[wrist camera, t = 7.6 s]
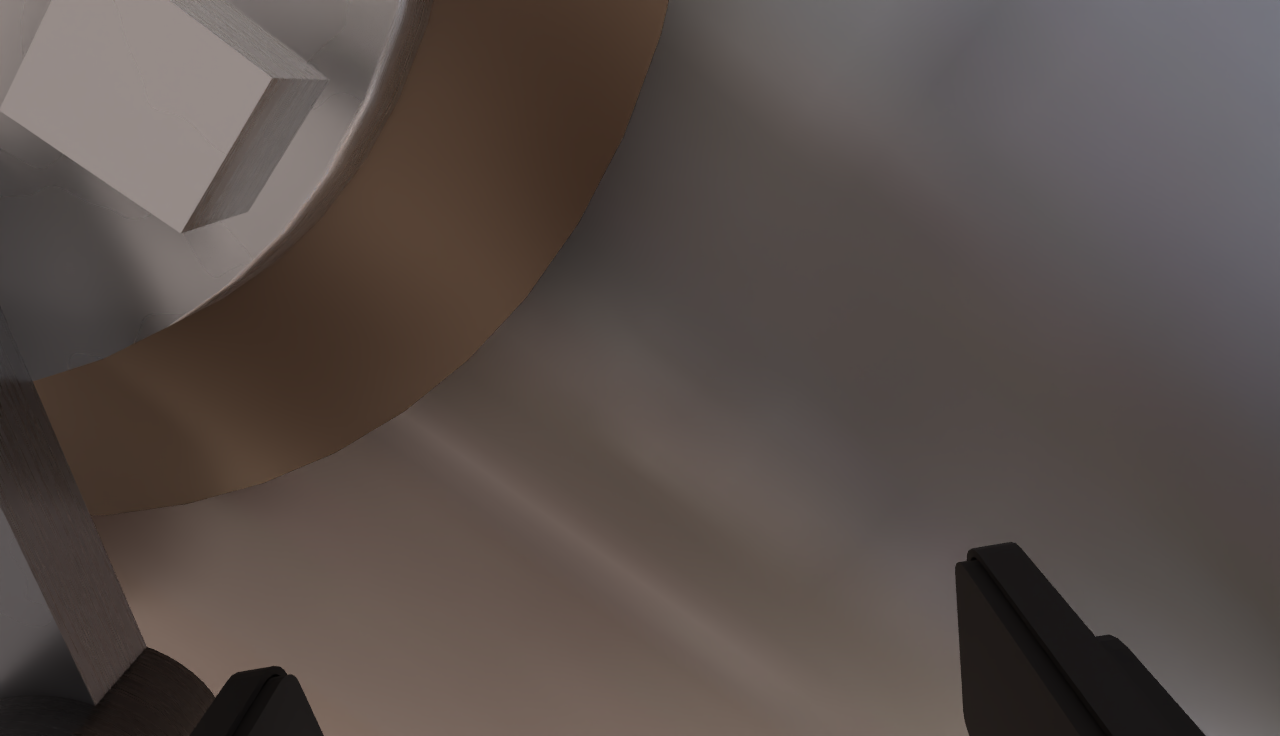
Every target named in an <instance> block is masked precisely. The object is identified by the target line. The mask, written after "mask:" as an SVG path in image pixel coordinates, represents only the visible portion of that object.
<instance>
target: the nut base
mask: <svg viewBox="0 0 1280 736" xmlns="http://www.w3.org/2000/svg"><path fill="white" fill-rule="evenodd" d="M668 2H669V0H433V3H432V7H431V11H430V16H429V20H428V24H427V27H426V30H425V32H424V35H423V38H422V40H421V43H420V45H419V48H418V51H417V53H416V56H415V58H414V61H413V64H412V66H411V69H410V71H409V74H408V77H407V79H406V82H405V84H404V87H403V90H402V92H401V95H400V97H399V100H398V101H397V103H396V105H395V107H394V109H393V111H392V112H391V114H390V116H389V118H388V120H387V121H386V123H385V125H384V127H383V129H382V130H381V132H380V134H379V136H378V138H377V139H376V141H375V143H374V145H373V147H372V148H371V150H370V152H369V154H368V156H367V157H366V159H365V161H364V163H363V164H362V165H361V167H360V168H359V169H358V171H357V172H356V173H355V175H354V176H353V177H352V178H351V180H350V181H349V182H348V184H347V185H346V186H345V188H344V189H343V190H342V192H341V193H340V194H339V195H338V197H337V198H336V199H335V201H334V202H333V203H332V205H331V206H330V207H329V209H328V210H327V211H326V212H325V214H324V215H323V216H322V217H321V218H320V219H319V220H318V221H317V222H316V223H315V224H314V225H313V226H312V227H311V228H310V229H309V230H308V231H307V232H306V233H305V234H304V235H303V236H302V237H301V238H300V239H299V240H298V241H296V242H295V243H294V244H293V245H292V246H291V247H290V248H289V249H288V250H287V251H286V252H285V253H284V254H283V255H282V256H281V257H280V258H279V259H278V260H277V261H276V262H274V263H273V264H272V265H270V266H269V267H267V268H266V269H264V270H263V271H262V272H260V273H259V274H257V275H256V276H254V277H253V278H252V279H250V280H249V281H247V282H246V283H245V284H243V285H242V286H240V287H239V288H237V289H236V290H235V291H233V292H232V293H230V294H229V295H227V296H226V297H225V298H223V299H221V300H219V301H217V302H215V303H213V304H211V305H209V306H207V307H205V308H203V309H201V310H200V311H198V312H196V313H194V314H192V315H190V316H188V317H186V318H184V319H182V320H180V321H178V322H176V323H174V324H172V325H170V326H168V327H166V328H164V329H162V330H160V331H158V332H156V333H154V334H152V335H150V336H148V337H146V338H144V339H142V340H140V341H138V342H136V343H134V344H132V345H130V346H128V347H126V348H124V349H122V350H120V351H118V352H116V353H114V354H112V355H110V356H108V357H106V358H104V359H101V360H98V361H95V362H92V363H89V364H86V365H83V366H80V367H76V368H73V369H70V370H67V371H64V372H61V373H58V374H55V375H52V376H49V377H45V378H42V379H39V380H36V381H33V383H34V386H35V388H36V390H37V393H38V395H39V397H40V400H41V402H42V404H43V407H44V409H45V411H46V414H47V416H48V418H49V421H50V423H51V425H52V428H53V430H54V432H55V435H56V437H57V439H58V442H59V444H60V446H61V449H62V451H63V453H64V456H65V458H66V460H67V463H68V465H69V467H70V470H71V472H72V474H73V477H74V479H75V481H76V483H77V486H78V488H79V490H80V493H81V495H82V497H83V500H84V502H85V504H86V507H87V509H88V511H89V514H90V516H91V515H112V514H119V513H126V512H133V511H140V510H147V509H154V508H161V507H168V506H175V505H183V504H188V503H192V502H196V501H199V500H203V499H207V498H210V497H214V496H218V495H221V494H225V493H229V492H232V491H236V490H240V489H243V488H247V487H251V486H254V485H258V484H262V483H264V482H267V481H269V480H272V479H274V478H276V477H279V476H281V475H283V474H286V473H288V472H291V471H293V470H295V469H298V468H300V467H302V466H305V465H307V464H310V463H312V462H314V461H317V460H319V459H321V458H324V457H326V456H329V455H331V454H333V453H336V452H337V451H339V450H341V449H342V448H344V447H346V446H347V445H349V444H351V443H352V442H354V441H356V440H357V439H359V438H361V437H362V436H364V435H366V434H367V433H369V432H371V431H373V430H374V429H376V428H378V427H379V426H381V425H383V424H384V423H386V422H388V421H389V420H391V419H393V418H394V417H396V416H398V415H399V414H401V413H403V412H404V411H405V410H407V409H408V408H409V407H410V406H412V405H413V404H414V403H415V402H417V401H418V400H419V399H420V398H422V397H423V396H424V395H425V394H427V393H428V392H429V391H430V390H432V389H433V388H434V387H435V386H436V385H438V384H439V383H440V382H441V381H443V380H444V379H445V378H446V377H448V376H449V375H450V374H451V373H453V372H454V371H455V370H456V369H458V368H459V367H460V366H461V365H463V364H464V363H465V362H466V361H467V360H468V359H469V358H470V357H471V356H472V355H473V354H474V353H475V352H476V351H477V350H478V349H479V348H480V347H481V346H482V344H483V343H484V342H485V341H486V340H487V339H488V338H489V337H490V336H491V335H492V334H493V333H494V332H495V331H496V329H497V328H498V327H499V326H500V325H501V324H502V323H503V322H504V321H505V320H506V319H507V318H508V317H509V316H510V314H511V313H512V312H513V311H514V310H515V309H516V308H517V307H518V306H519V305H520V304H521V303H522V302H523V301H524V299H525V298H526V297H527V296H528V294H529V293H530V291H531V290H532V289H533V287H534V286H535V284H536V283H537V281H538V280H539V279H540V277H541V276H542V274H543V273H544V272H545V270H546V269H547V267H548V266H549V264H550V263H551V262H552V260H553V259H554V257H555V256H556V254H557V253H558V252H559V250H560V249H561V247H562V246H563V244H564V243H565V242H566V240H567V239H568V237H569V236H570V235H571V233H572V232H573V230H574V229H575V227H576V226H577V225H578V223H579V221H580V219H581V217H582V215H583V213H584V212H585V210H586V208H587V206H588V204H589V202H590V200H591V198H592V196H593V194H594V192H595V190H596V188H597V186H598V185H599V183H600V181H601V179H602V177H603V175H604V173H605V171H606V169H607V167H608V165H609V163H610V161H611V160H612V158H613V156H614V154H615V152H616V150H617V148H618V146H619V144H620V142H621V140H622V138H623V136H624V134H625V131H626V128H627V126H628V123H629V120H630V118H631V115H632V112H633V109H634V107H635V104H636V101H637V98H638V96H639V93H640V90H641V88H642V85H643V82H644V79H645V77H646V74H647V71H648V68H649V66H650V63H651V60H652V57H653V55H654V52H655V49H656V47H657V44H658V41H659V38H660V36H661V32H662V28H663V23H664V19H665V15H666V11H667V6H668Z"/></svg>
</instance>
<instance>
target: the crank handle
mask: <svg viewBox="0 0 1280 736" xmlns="http://www.w3.org/2000/svg"><path fill="white" fill-rule="evenodd" d="M432 3H433V0H0V736H190V734H191V733H192V731H193V730H194V728H195V727H196V726H197V724H198V723H199V721H200V720H201V718H202V717H203V715H204V714H205V712H206V711H207V710H208V708H209V707H210V705H211V704H212V702H213V701H214V699H215V696H214V695H213V693H212V692H211V691H210V690H209V688H208V687H207V686H206V685H205V684H204V683H203V682H202V681H201V680H200V679H199V678H198V677H197V676H196V675H195V674H194V673H192V672H191V671H190V670H188V669H187V668H186V667H184V666H183V665H182V664H180V663H179V662H177V661H175V660H174V659H172V658H170V657H169V656H167V655H164V654H162V653H160V652H158V651H156V650H154V649H151V648H148V647H147V646H146V644H145V642H144V639H143V637H142V635H141V632H140V630H139V628H138V625H137V623H136V621H135V618H134V616H133V614H132V612H131V609H130V607H129V605H128V602H127V600H126V598H125V595H124V593H123V591H122V588H121V586H120V584H119V581H118V579H117V577H116V574H115V572H114V570H113V567H112V565H111V563H110V560H109V558H108V556H107V553H106V551H105V549H104V546H103V544H102V542H101V539H100V537H99V535H98V532H97V530H96V528H95V525H94V523H93V521H92V518H91V516H90V514H89V511H88V509H87V507H86V504H85V502H84V500H83V497H82V495H81V493H80V490H79V488H78V486H77V483H76V481H75V479H74V477H73V474H72V472H71V470H70V467H69V465H68V463H67V460H66V458H65V456H64V453H63V451H62V449H61V446H60V444H59V442H58V439H57V437H56V435H55V432H54V430H53V428H52V425H51V423H50V421H49V418H48V416H47V414H46V411H45V409H44V407H43V404H42V402H41V400H40V397H39V395H38V393H37V390H36V388H35V386H34V383H33V381H36V380H39V379H42V378H45V377H49V376H52V375H55V374H58V373H61V372H64V371H67V370H70V369H73V368H76V367H80V366H83V365H86V364H89V363H92V362H95V361H98V360H101V359H104V358H106V357H108V356H110V355H112V354H114V353H116V352H118V351H120V350H122V349H124V348H126V347H128V346H130V345H132V344H134V343H136V342H138V341H140V340H142V339H144V338H146V337H148V336H150V335H152V334H154V333H156V332H158V331H160V330H162V329H164V328H166V327H168V326H170V325H172V324H174V323H176V322H178V321H180V320H182V319H184V318H186V317H188V316H190V315H192V314H194V313H196V312H198V311H200V310H201V309H203V308H205V307H207V306H209V305H211V304H213V303H215V302H217V301H219V300H221V299H223V298H225V297H226V296H227V295H229V294H230V293H232V292H233V291H235V290H236V289H237V288H239V287H240V286H242V285H243V284H245V283H246V282H247V281H249V280H250V279H252V278H253V277H254V276H256V275H257V274H259V273H260V272H262V271H263V270H264V269H266V268H267V267H269V266H270V265H272V264H273V263H274V262H276V261H277V260H278V259H279V258H280V257H281V256H282V255H283V254H284V253H285V252H286V251H287V250H288V249H289V248H290V247H291V246H292V245H293V244H294V243H295V242H296V241H298V240H299V239H300V238H301V237H302V236H303V235H304V234H305V233H306V232H307V231H308V230H309V229H310V228H311V227H312V226H313V225H314V224H315V223H316V222H317V221H318V220H319V219H320V218H321V217H322V216H323V215H324V214H325V212H326V211H327V210H328V209H329V207H330V206H331V205H332V203H333V202H334V201H335V199H336V198H337V197H338V195H339V194H340V193H341V192H342V190H343V189H344V188H345V186H346V185H347V184H348V182H349V181H350V180H351V178H352V177H353V176H354V175H355V173H356V172H357V171H358V169H359V168H360V167H361V165H362V164H363V163H364V161H365V159H366V157H367V156H368V154H369V152H370V150H371V148H372V147H373V145H374V143H375V141H376V139H377V138H378V136H379V134H380V132H381V130H382V129H383V127H384V125H385V123H386V121H387V120H388V118H389V116H390V114H391V112H392V111H393V109H394V107H395V105H396V103H397V101H398V100H399V97H400V95H401V92H402V90H403V87H404V84H405V82H406V79H407V77H408V74H409V71H410V69H411V66H412V64H413V61H414V58H415V56H416V53H417V51H418V48H419V45H420V43H421V40H422V38H423V35H424V32H425V30H426V27H427V24H428V20H429V16H430V11H431V7H432Z"/></svg>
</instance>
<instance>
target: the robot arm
mask: <svg viewBox="0 0 1280 736" xmlns="http://www.w3.org/2000/svg"><path fill="white" fill-rule="evenodd" d="M955 575H956V593H957V610H958V627H959V644H960V661H961V679H962V696H963V712H964V719H965V723H966V727H967V730H968V733H969V736H1205V734H1204V733H1203V732H1202V731H1201V730H1200V729H1199V728H1198V726H1197V725H1196V724H1195V723H1194V722H1193V721H1192V720H1191V719H1190V717H1189V716H1188V715H1187V714H1186V713H1185V712H1184V711H1183V709H1182V708H1181V707H1180V706H1179V705H1178V704H1177V703H1176V702H1175V700H1174V699H1173V698H1172V697H1171V696H1170V695H1169V694H1168V692H1167V691H1166V690H1165V689H1164V688H1163V687H1162V686H1161V685H1160V683H1159V682H1158V681H1157V680H1156V679H1155V678H1154V677H1153V675H1152V674H1151V673H1150V672H1149V671H1148V670H1147V669H1146V668H1145V666H1144V665H1143V664H1142V663H1141V662H1140V661H1139V660H1138V658H1137V657H1136V656H1135V655H1134V654H1133V653H1132V652H1131V651H1130V649H1129V648H1128V647H1127V646H1126V645H1124V644H1123V643H1122V642H1121V641H1120V640H1119V639H1118V638H1116V637H1114V636H1111V635H1103V636H1097V637H1095V636H1094V634H1093V633H1092V632H1091V631H1090V630H1089V628H1088V627H1087V626H1086V625H1085V624H1084V623H1083V621H1082V620H1081V619H1080V618H1079V617H1078V615H1077V614H1076V613H1075V612H1074V611H1073V609H1072V608H1071V607H1070V606H1069V605H1068V604H1067V602H1066V601H1065V600H1064V599H1063V598H1062V596H1061V595H1060V594H1059V593H1058V592H1057V590H1056V589H1055V588H1054V587H1053V586H1052V584H1051V583H1050V582H1049V581H1048V580H1047V579H1046V577H1045V576H1044V575H1043V574H1042V573H1041V571H1040V570H1039V569H1038V568H1037V567H1036V565H1035V564H1034V563H1033V562H1032V561H1031V560H1030V558H1029V557H1028V556H1027V555H1026V554H1025V552H1024V551H1023V550H1022V549H1021V548H1020V547H1019V546H1018V545H1017V544H1016V543H1013V542H1008V543H1003V544H997V545H991V546H985V547H979V548H973V549H970V550H969V551H968V554H967V561H964V562H958V563H957V564H956V567H955ZM190 736H324V735H323V733H322V731H321V729H320V727H319V724H318V722H317V720H316V718H315V716H314V714H313V711H312V709H311V707H310V705H309V703H308V701H307V698H306V696H305V694H304V692H303V690H302V688H301V685H300V683H299V681H298V680H297V678H296V677H295V676H293V675H287V673H286V672H285V670H284V669H282V668H281V667H279V666H272V667H266V668H260V669H254V670H248V671H242V672H238V673H236V674H234V675H232V676H231V677H230V678H229V680H228V681H227V682H226V683H225V685H224V686H223V688H222V689H221V691H220V692H219V694H218V695H217V696H216V698H215V699H214V701H213V702H212V704H211V705H210V707H209V708H208V710H207V711H206V712H205V714H204V715H203V717H202V718H201V720H200V721H199V723H198V724H197V726H196V727H195V728H194V730H193V731H192V733H191V734H190Z"/></svg>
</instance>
